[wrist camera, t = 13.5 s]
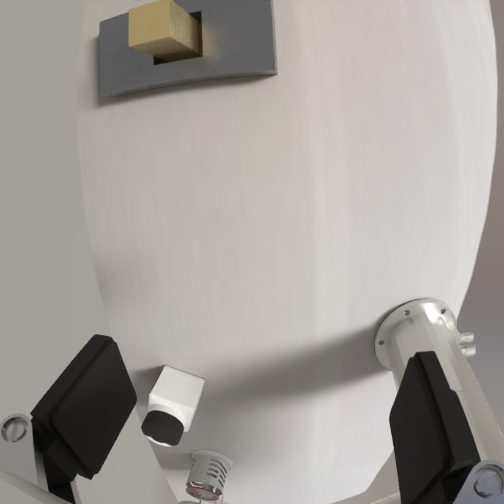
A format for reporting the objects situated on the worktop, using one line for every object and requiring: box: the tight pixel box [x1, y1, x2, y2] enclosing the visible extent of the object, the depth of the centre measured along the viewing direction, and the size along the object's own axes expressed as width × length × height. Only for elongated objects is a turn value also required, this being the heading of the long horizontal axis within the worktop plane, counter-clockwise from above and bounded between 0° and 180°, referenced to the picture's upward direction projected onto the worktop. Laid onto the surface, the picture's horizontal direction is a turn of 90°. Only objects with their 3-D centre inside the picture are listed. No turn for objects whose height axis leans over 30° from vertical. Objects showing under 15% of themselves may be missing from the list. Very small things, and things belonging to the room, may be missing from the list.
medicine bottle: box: [141, 365, 205, 447], centre depth 45 cm, size 7×7×12 cm
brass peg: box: [129, 0, 203, 62], centre depth 25 cm, size 4×4×10 cm
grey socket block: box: [99, 0, 278, 97], centre depth 28 cm, size 20×10×3 cm, turn 93°
